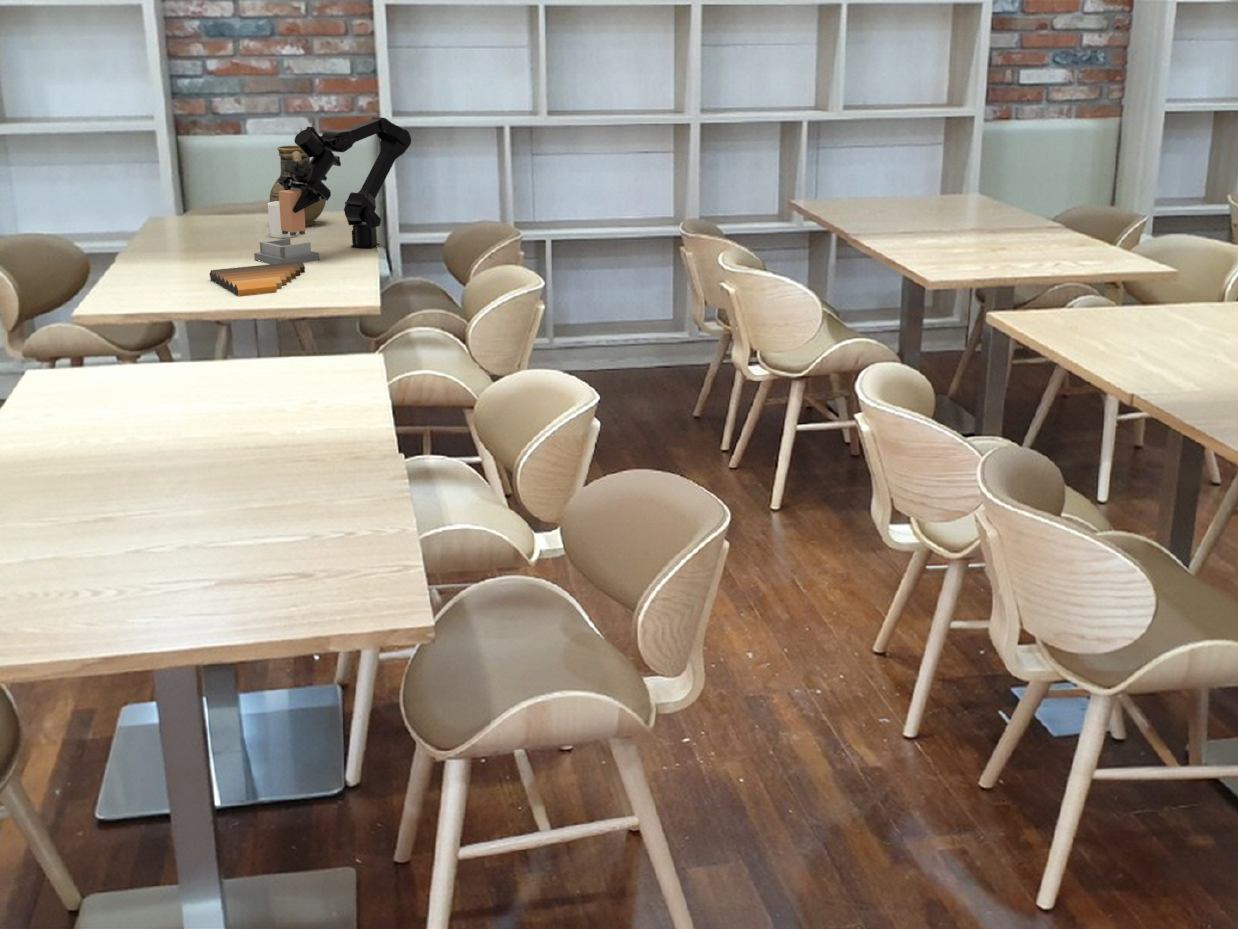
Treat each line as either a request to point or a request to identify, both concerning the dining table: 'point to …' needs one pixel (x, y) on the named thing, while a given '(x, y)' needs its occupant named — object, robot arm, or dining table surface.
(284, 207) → the peach block
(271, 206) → the mug
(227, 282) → the pan flute
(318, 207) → the decorative pitcher
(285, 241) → the dock
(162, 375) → the dining table surface
